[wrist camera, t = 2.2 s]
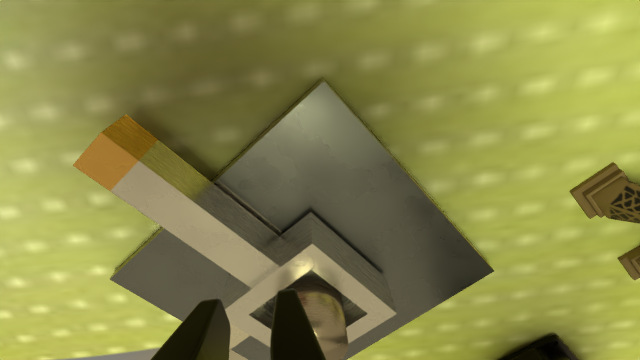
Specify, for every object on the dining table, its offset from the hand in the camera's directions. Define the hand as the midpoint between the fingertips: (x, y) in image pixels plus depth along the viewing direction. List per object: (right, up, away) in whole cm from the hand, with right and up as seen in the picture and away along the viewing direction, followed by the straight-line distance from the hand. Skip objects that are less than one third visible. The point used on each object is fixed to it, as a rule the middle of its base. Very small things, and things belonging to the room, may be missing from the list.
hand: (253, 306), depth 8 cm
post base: (+1, -3, +15) cm, 16 cm away
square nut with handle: (-3, 0, +12) cm, 13 cm away
